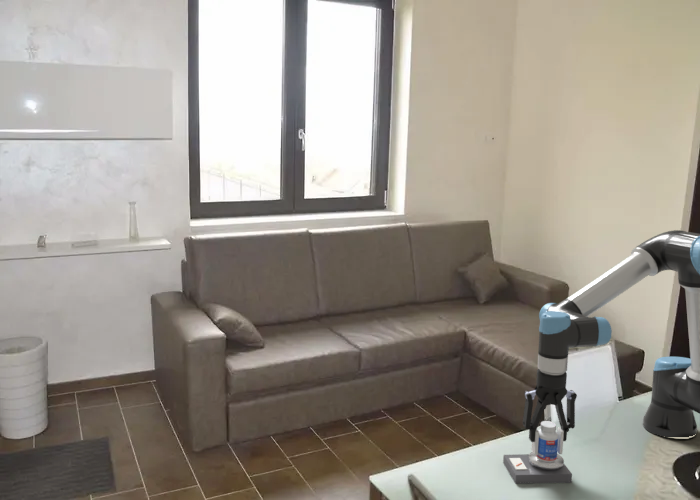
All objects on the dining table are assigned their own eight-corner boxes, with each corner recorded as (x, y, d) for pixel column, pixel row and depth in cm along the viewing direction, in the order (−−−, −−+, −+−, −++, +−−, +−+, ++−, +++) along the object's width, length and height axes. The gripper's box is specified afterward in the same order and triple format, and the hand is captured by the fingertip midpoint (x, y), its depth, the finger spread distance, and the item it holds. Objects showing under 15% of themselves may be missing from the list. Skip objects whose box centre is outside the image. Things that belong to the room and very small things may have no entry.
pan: (556, 453, 176) (556, 449, 176) (568, 469, 167) (569, 466, 167) (524, 453, 176) (524, 450, 175) (535, 470, 167) (535, 466, 167)
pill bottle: (546, 464, 168) (547, 430, 166) (531, 455, 172) (533, 422, 171) (561, 459, 170) (563, 425, 168) (546, 451, 175) (548, 418, 173)
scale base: (555, 461, 178) (556, 451, 177) (571, 482, 167) (572, 471, 166) (503, 462, 177) (503, 452, 176) (515, 483, 166) (516, 472, 165)
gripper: (581, 365, 171) (575, 445, 175) (512, 365, 170) (507, 446, 174) (593, 374, 164) (587, 458, 168) (521, 375, 163) (516, 459, 167)
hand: (546, 452), depth 171 cm, fingers open, 6 cm apart
